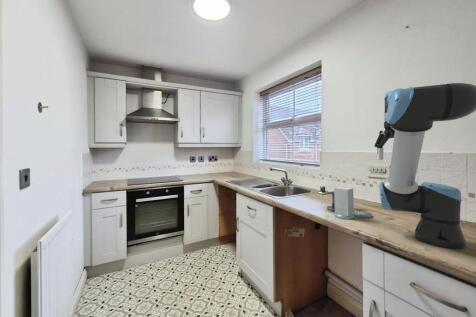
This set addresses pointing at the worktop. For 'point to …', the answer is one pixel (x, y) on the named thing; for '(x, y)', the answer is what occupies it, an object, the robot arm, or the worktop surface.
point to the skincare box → (344, 201)
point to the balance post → (332, 204)
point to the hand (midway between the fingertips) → (391, 160)
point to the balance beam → (323, 192)
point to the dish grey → (362, 214)
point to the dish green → (343, 216)
